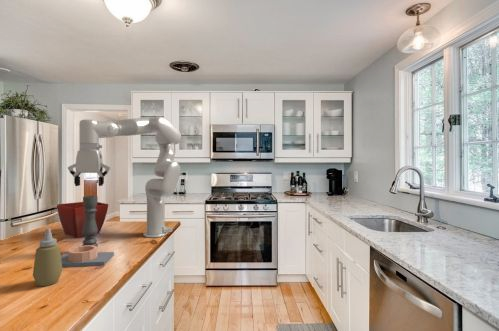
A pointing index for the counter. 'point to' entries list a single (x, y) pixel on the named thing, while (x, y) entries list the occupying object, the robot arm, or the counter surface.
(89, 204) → the candle holder
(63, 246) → the counter surface
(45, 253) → the squeeze bottle
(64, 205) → the plant pot
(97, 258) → the socket board
